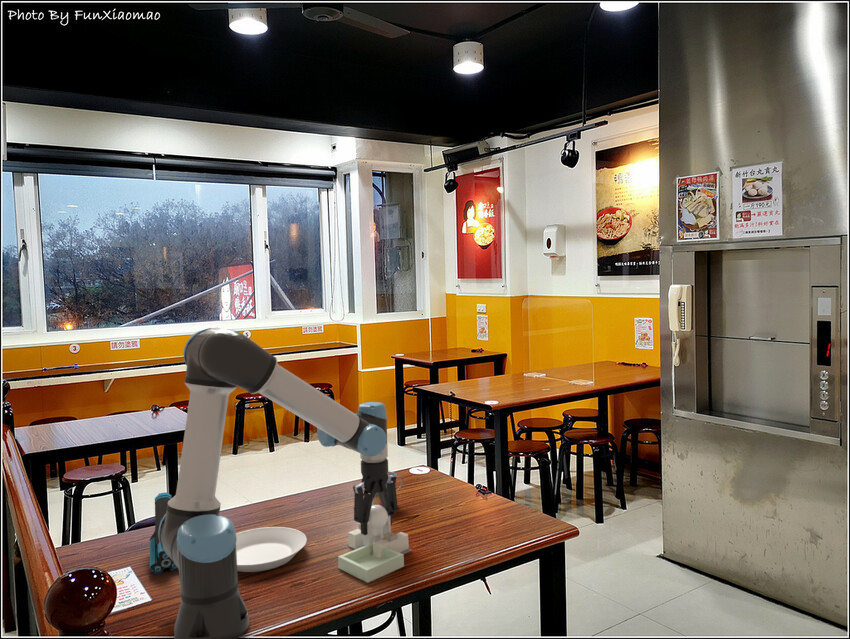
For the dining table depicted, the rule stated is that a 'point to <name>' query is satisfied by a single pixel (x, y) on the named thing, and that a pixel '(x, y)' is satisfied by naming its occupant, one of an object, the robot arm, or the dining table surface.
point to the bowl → (267, 547)
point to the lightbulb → (377, 521)
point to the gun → (157, 554)
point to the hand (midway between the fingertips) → (377, 541)
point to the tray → (370, 562)
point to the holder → (380, 542)
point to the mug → (377, 499)
